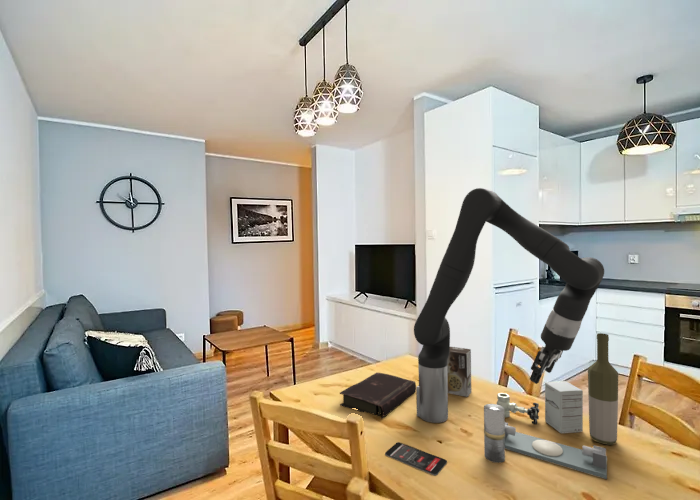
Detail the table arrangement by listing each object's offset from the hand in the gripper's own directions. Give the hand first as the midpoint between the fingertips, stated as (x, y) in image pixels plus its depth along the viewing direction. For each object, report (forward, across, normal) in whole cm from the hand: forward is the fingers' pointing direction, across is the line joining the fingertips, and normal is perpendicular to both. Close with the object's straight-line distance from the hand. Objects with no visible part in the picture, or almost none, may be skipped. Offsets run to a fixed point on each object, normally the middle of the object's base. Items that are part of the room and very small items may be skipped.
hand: (540, 376), depth 102 cm
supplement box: (+18, -10, +9) cm, 22 cm away
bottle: (+14, -11, +18) cm, 25 cm away
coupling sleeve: (+17, +19, +2) cm, 26 cm away
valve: (+22, -5, -2) cm, 23 cm away
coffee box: (+31, -9, -25) cm, 41 cm away
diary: (+35, +17, -40) cm, 56 cm away
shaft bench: (+15, +7, +10) cm, 19 cm away
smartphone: (+21, +35, -11) cm, 42 cm away
